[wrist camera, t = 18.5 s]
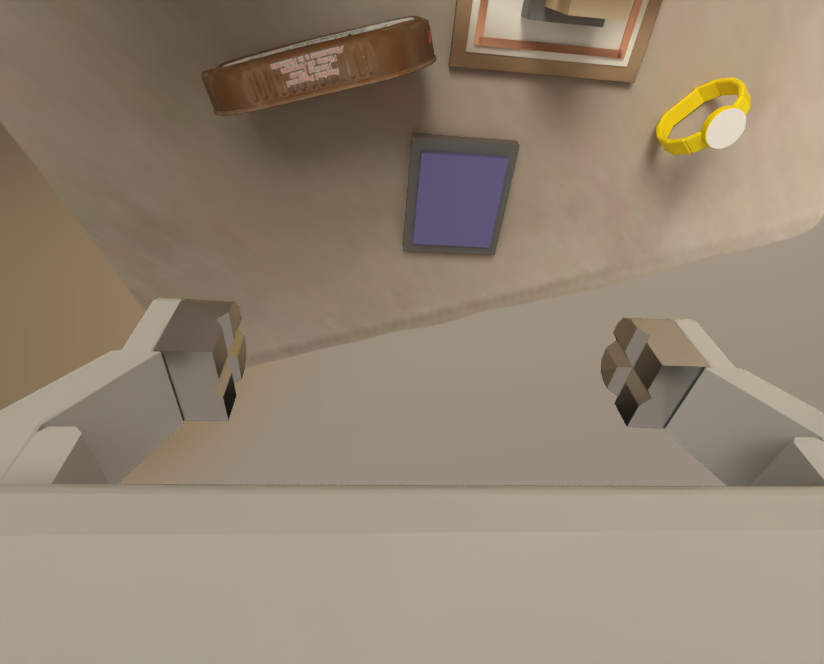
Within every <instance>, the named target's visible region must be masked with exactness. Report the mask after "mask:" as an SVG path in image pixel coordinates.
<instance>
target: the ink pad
mask: <svg viewBox="0 0 824 664" xmlns="http://www.w3.org/2000/svg"><path fill="white" fill-rule="evenodd" d="M518 149H519V144H518V142H517V141H511V140H498V139H484V138H471V137H457V136H444V135H431V134H417V133H412V142H411V154H410V166H409V178H408V189H407V201H406V213H405V225H404V236H403V250H404V251H424V252H444V253H464V254H484V255H495V251H496V246H497V242H498V237H499V233H500V228H501V224H502V220H503V215H504V211H505V206H506V202H507V197H508V193H509V188H510V184H511V180H512V175H513V171H514V166H515V162H516V157H517V153H518Z"/></svg>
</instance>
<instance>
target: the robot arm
mask: <svg viewBox="0 0 824 664" xmlns="http://www.w3.org/2000/svg"><path fill="white" fill-rule="evenodd" d="M240 321H241V315H240V311H239V306H238V305H237V303H236V302H227V301H211V300H194V299H174V298H157V299H155V300H153V301H152V303H151V304H150V306H149V307H148V309H147V310H146V312H145V314H144V315H143V317H142V318H141V320H140V321H139V323H138V324H137V326H136V328H135V329H134V331H133V332H132V334H131V335H130V337H129V338H128V340H127V342H126V343H125V345H124V346H123V348H122V349H121V350H112V351H110V352H108V353H107V354H105V355H103V356H101V357H99V358H97V359H95V360H93V361H92V362H90V363H88V364H86V365H84V366H82V367H80V368H78V369H77V370H75V371H73V372H71V373H69V374H67V375H66V376H64V377H62V378H60V379H58V380H56V381H54V382H52V383H51V384H49V385H47V386H45V387H43V388H41V389H40V390H38V391H36V392H34V393H32V394H30V395H28V396H27V397H25V398H23V399H21V400H19V401H17V402H16V403H14V404H12V405H10V406H8V407H6V408H4V409H3V410H1V411H0V664H824V413H822V412H820V411H819V410H817V409H815V408H813V407H811V406H809V405H808V404H806V403H804V402H802V401H800V400H799V399H797V398H795V397H793V396H791V395H790V394H788V393H786V392H784V391H782V390H780V389H779V388H777V387H775V386H773V385H771V384H770V383H768V382H766V381H764V380H763V379H761V378H759V377H757V376H755V375H753V374H752V373H750V372H748V371H746V370H744V369H738V368H735V367H734V365H733V364H732V363H731V362H730V361H729V360H728V359H727V357H726V356H725V355H724V354H723V353H722V351H721V350H720V349H719V348H718V347H717V345H716V344H715V343H714V342H713V341H712V339H711V338H710V337H709V336H708V335H707V334H706V333H705V331H704V330H703V329H702V328H701V327H700V325H699V324H698V323H697V322H695V321H693V320H691V319H641V318H640V319H639V318H623V319H622V320H621V321H620V322H619V323H618V324H617V326H616V328H615V330H614V332H613V333H614V335H615V338H616V341H615V342H613V343H612V344H611V345H609V346H608V347H607V348H606V350H605V352H604V355H603V357H602V360H601V374H602V379H603V381H604V383H605V385H606V388H607V389H608V390H610V391H611V392H612V393H614V394H615V395H617V399H616V401H615V405H616V407H617V409H618V411H619V413H620V415H621V417H622V419H623V420H624V422H625V424H626V426H627V427H638V428H662V429H665V432H667V433H668V434H669V435H670V436H671V437H672V438H673V439H674V440H676V441H677V442H678V443H679V444H680V445H681V446H682V447H684V448H685V449H686V450H687V451H688V452H689V453H690V454H692V455H693V456H694V457H695V458H696V459H697V460H699V461H700V462H701V463H702V464H703V465H704V466H705V467H706V468H708V469H709V470H710V471H711V472H712V473H713V474H714V475H715V476H717V477H718V478H719V479H720V480H721V481H722V482H723V483H725V484H726V485H727V486H537V485H536V486H535V485H533V486H531V485H530V486H528V485H527V486H525V485H516V486H514V485H509V486H508V485H217V484H214V485H213V484H210V485H209V484H208V485H207V484H205V485H203V484H202V485H201V484H199V485H197V484H196V485H195V484H190V485H189V484H183V485H182V484H118V483H119V482H120V481H121V480H122V479H123V478H124V477H125V476H126V475H128V474H129V473H130V472H131V471H132V470H133V469H134V468H135V467H136V466H138V465H139V464H140V463H141V462H142V461H143V460H144V459H145V458H146V457H147V456H149V455H150V454H151V453H152V452H153V451H154V450H155V449H156V448H157V447H158V446H159V445H161V444H162V443H163V442H164V441H165V440H166V439H167V438H168V437H169V436H170V435H172V434H173V433H174V432H175V431H176V430H177V429H178V428H179V427H180V426H181V425H182V424H183V423H184V422H183V421H228V420H229V417H230V414H231V410H232V408H233V405H234V402H235V398H236V391H235V387H234V385H235V384H236V383H237V382H239V381H240V380H242V376H243V373H244V369H245V361H246V344H245V338H244V335H243V334H242V333H241V332H240V331H239V330H238V327H239V324H240Z"/></svg>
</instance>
